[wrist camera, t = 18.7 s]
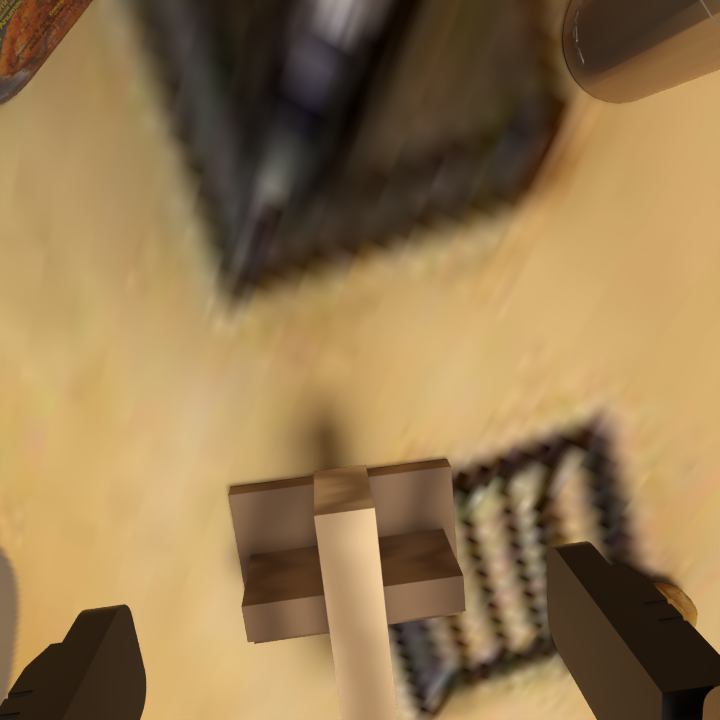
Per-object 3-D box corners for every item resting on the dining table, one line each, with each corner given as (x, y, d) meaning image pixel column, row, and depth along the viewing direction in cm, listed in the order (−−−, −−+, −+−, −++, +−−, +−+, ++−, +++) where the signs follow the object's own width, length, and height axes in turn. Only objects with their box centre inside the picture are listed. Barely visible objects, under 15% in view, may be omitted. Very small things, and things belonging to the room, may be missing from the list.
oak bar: (365, 464, 38) (374, 507, 33) (393, 727, 44) (406, 804, 38) (313, 471, 38) (313, 516, 32) (348, 733, 44) (354, 812, 38)
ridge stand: (446, 459, 47) (472, 505, 40) (456, 602, 51) (482, 671, 43) (231, 486, 47) (214, 539, 39) (256, 631, 50) (245, 706, 42)
